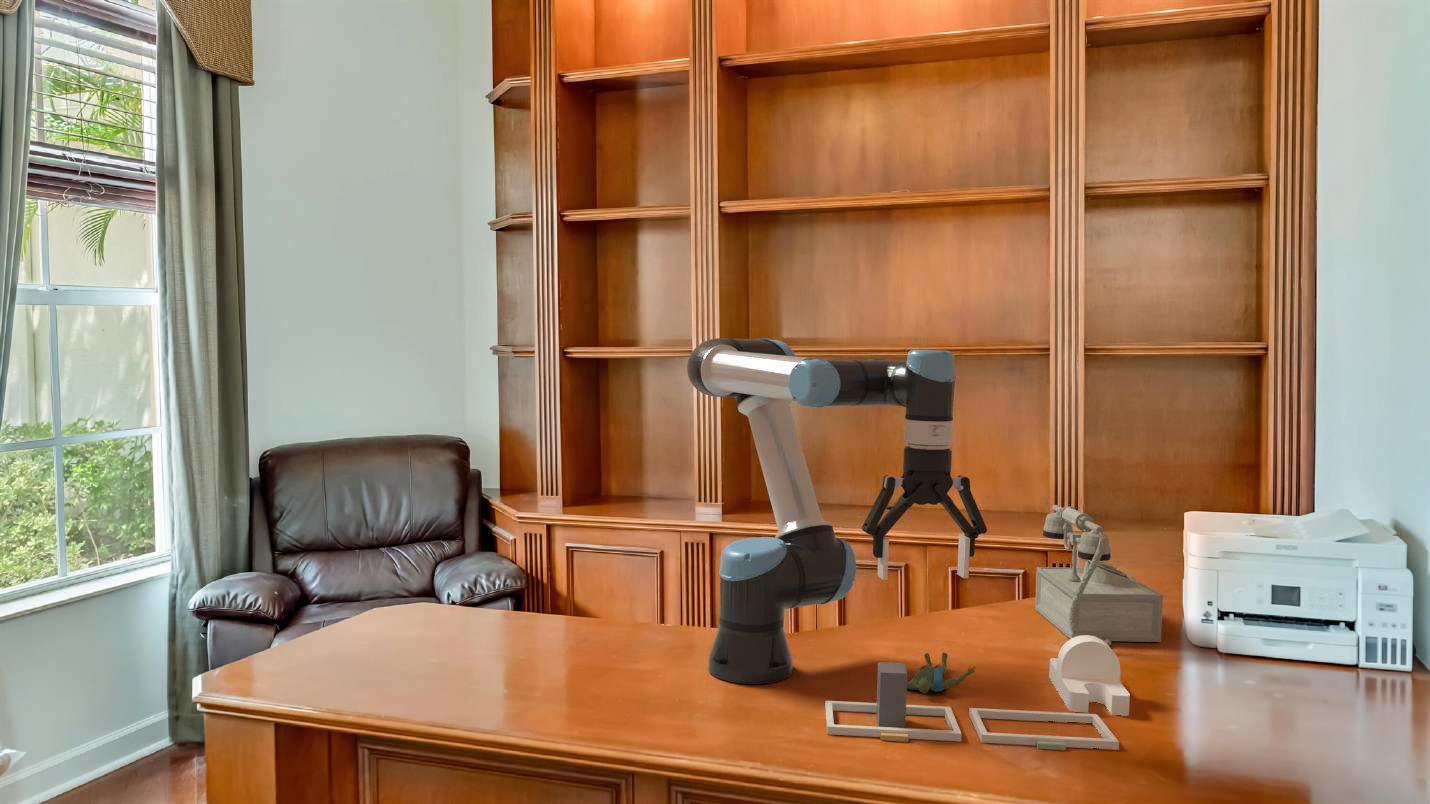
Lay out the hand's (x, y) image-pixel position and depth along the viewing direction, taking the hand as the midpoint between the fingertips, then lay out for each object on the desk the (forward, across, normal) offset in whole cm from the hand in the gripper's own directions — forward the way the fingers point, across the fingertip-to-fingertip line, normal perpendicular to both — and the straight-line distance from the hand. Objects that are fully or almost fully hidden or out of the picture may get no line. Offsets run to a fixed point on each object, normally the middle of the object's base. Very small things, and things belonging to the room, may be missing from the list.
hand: (922, 577), depth 162 cm
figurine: (+22, +6, +12) cm, 26 cm away
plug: (+22, -7, -6) cm, 23 cm away
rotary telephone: (+22, +54, +41) cm, 71 cm away
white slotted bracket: (+22, +32, +4) cm, 39 cm away
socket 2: (+22, +16, -11) cm, 29 cm away
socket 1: (+22, -7, -6) cm, 23 cm away
